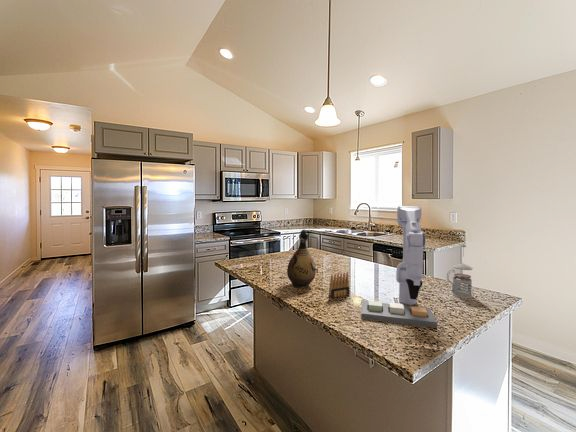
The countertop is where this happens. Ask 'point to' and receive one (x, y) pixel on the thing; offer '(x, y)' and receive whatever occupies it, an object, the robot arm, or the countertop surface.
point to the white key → (396, 308)
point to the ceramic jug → (301, 265)
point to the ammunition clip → (339, 286)
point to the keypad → (398, 316)
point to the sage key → (375, 306)
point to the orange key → (418, 311)
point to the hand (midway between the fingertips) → (413, 298)
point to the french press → (461, 281)
